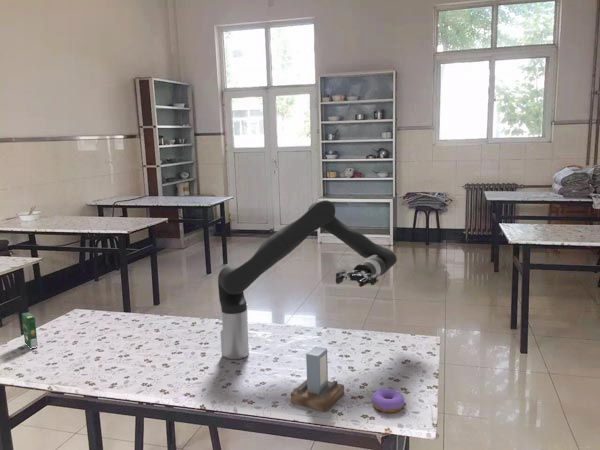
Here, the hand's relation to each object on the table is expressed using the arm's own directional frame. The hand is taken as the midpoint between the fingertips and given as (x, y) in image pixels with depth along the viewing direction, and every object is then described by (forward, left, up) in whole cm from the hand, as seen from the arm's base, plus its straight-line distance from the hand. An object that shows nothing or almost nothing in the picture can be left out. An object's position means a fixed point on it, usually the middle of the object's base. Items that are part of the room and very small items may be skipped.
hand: (348, 282), depth 170 cm
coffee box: (-126, -18, -30) cm, 131 cm away
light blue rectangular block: (-4, -24, -27) cm, 36 cm away
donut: (+17, -22, -30) cm, 41 cm away
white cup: (-55, +24, -30) cm, 67 cm away
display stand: (-4, -24, -30) cm, 39 cm away
